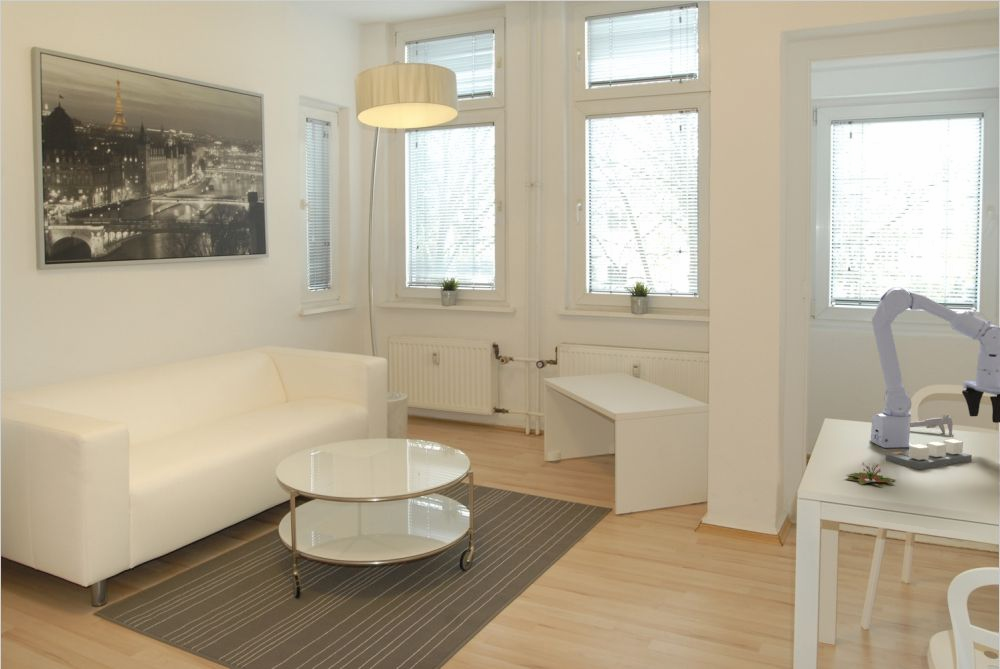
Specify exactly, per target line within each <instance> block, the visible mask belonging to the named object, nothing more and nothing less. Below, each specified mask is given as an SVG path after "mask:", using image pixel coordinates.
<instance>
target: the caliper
mask: <svg viewBox="0 0 1000 669" xmlns="http://www.w3.org/2000/svg"><path fill="white" fill-rule="evenodd" d="M952 420H953V419H952V417H951V416H949V413H946V414H944V413H943V414H942V417H932V418H926V419H924V420H917V421H911V422H910V428H917V427H926V429H933V428H936V427H939V429H940V431H941V432H942V434H944V435H945V434H946V430H945V425H947V428H948V433H949V434H950V435H951V434H952V433H953V426H954V424H953V421H952Z"/></svg>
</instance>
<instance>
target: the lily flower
mask: <svg viewBox="0 0 1000 669" xmlns="http://www.w3.org/2000/svg"><path fill="white" fill-rule="evenodd" d="M861 465H862V466H864V467H865V468H864V467H863V468H862V471H863V472H861V471H859V472H853V473H850V474H849V473H848V474H847V476H849V477H847V478H845V480H848V481H856V482H859V486H862V485H865V484H870V485H874V486H876V487H878V488H881V489H882V488H883V487H884V486H885V484H888V485H892V486H895V484H894V481H896V479H894V478H890V477H884V475H882V474H878V473H881V468H879V469H878V470H877V471H876V472H875V470H876V468H878V467H879V464H878V463H877V464H876V465H875V466H873V467H872V469H871V467H870V466H871V464H870V463H868V465H869V466H868V465H866V464H865V463H864V462H862V464H861ZM866 469H867V470H866ZM868 480H869V481H870V482H869V481H868ZM873 481H874V482H876V483H877V484H874V483H873Z"/></svg>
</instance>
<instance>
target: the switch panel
mask: <svg viewBox="0 0 1000 669" xmlns="http://www.w3.org/2000/svg"><path fill="white" fill-rule="evenodd" d="M972 456H973V455H972V454H969V453H966V452H965V453H964V452H962V453H959V454H950V453H946V456H940V457H934V456H930V455H929V458H928V459H921V460H918V459H914V458H911V457H909V450H905V451H903V450H902V451H897V452H896V451H895V452H891V453H885V461H889V462H893V463H896V464H899V465H903V466H906V467H909V468H913V469H916V470H923V469H930V468H936V467H942V466H947V465H954V464H959V463H966V462H972Z"/></svg>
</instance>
